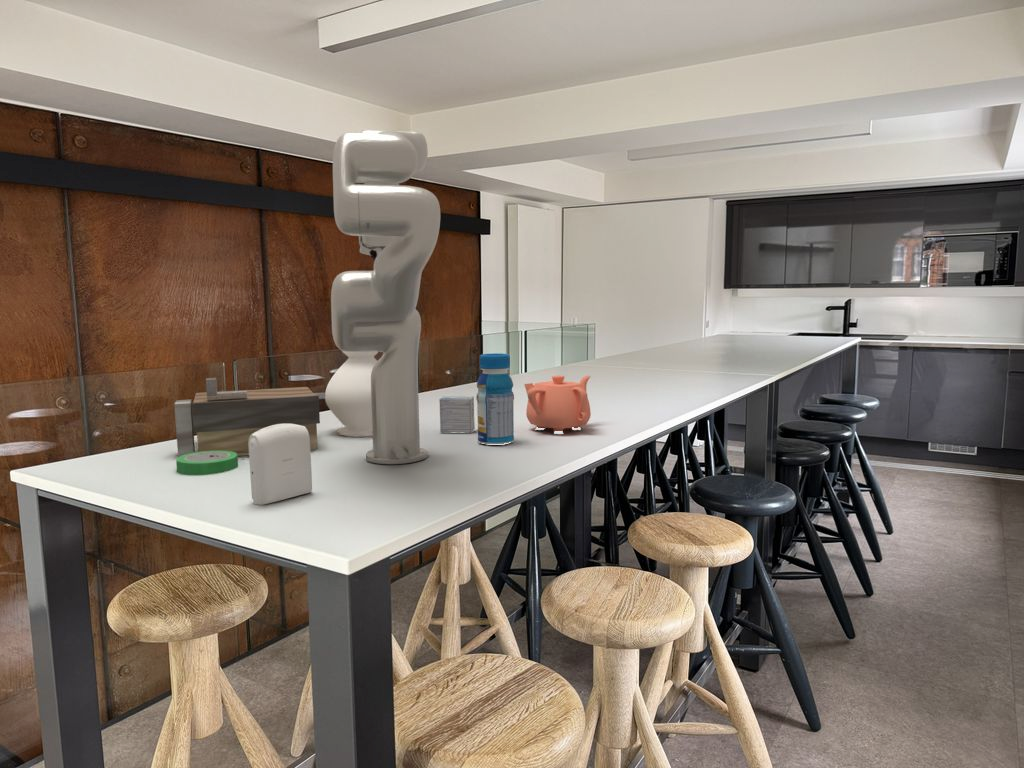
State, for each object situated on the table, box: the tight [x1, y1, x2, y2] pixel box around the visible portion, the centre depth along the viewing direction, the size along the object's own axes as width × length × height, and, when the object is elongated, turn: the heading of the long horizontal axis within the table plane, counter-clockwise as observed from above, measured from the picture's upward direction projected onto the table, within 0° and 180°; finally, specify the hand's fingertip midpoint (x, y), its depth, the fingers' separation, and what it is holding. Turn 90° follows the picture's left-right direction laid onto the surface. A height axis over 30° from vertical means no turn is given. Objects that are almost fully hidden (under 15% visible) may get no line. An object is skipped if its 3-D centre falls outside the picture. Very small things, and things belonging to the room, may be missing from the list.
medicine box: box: [439, 395, 476, 432], centre depth 175 cm, size 8×4×9 cm, turn 84°
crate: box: [174, 399, 319, 458], centre depth 161 cm, size 20×28×11 cm
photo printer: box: [248, 424, 313, 506], centre depth 119 cm, size 10×4×12 cm, turn 140°
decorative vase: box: [324, 350, 379, 438], centre depth 175 cm, size 18×18×25 cm
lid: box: [192, 386, 321, 434], centre depth 161 cm, size 23×25×6 cm
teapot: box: [524, 375, 591, 431], centre depth 176 cm, size 16×17×14 cm
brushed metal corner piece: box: [205, 377, 247, 400], centre depth 155 cm, size 3×8×4 cm, turn 112°
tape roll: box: [175, 450, 239, 476], centre depth 141 cm, size 11×11×3 cm
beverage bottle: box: [475, 352, 515, 444], centre depth 161 cm, size 8×8×20 cm
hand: (384, 280), depth 161 cm, fingers closed
